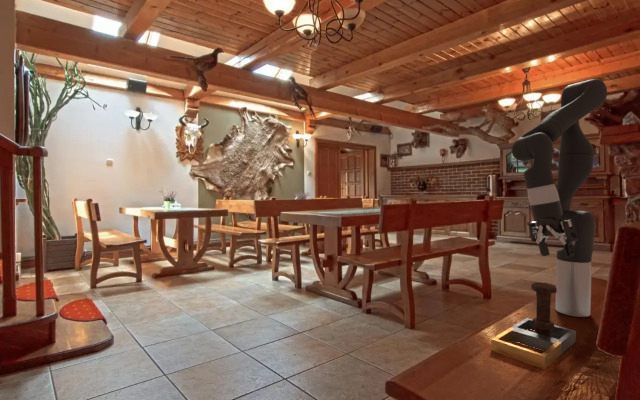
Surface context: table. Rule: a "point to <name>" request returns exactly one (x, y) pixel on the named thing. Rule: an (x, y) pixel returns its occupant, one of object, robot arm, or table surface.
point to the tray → (533, 343)
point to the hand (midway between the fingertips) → (557, 256)
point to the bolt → (543, 307)
